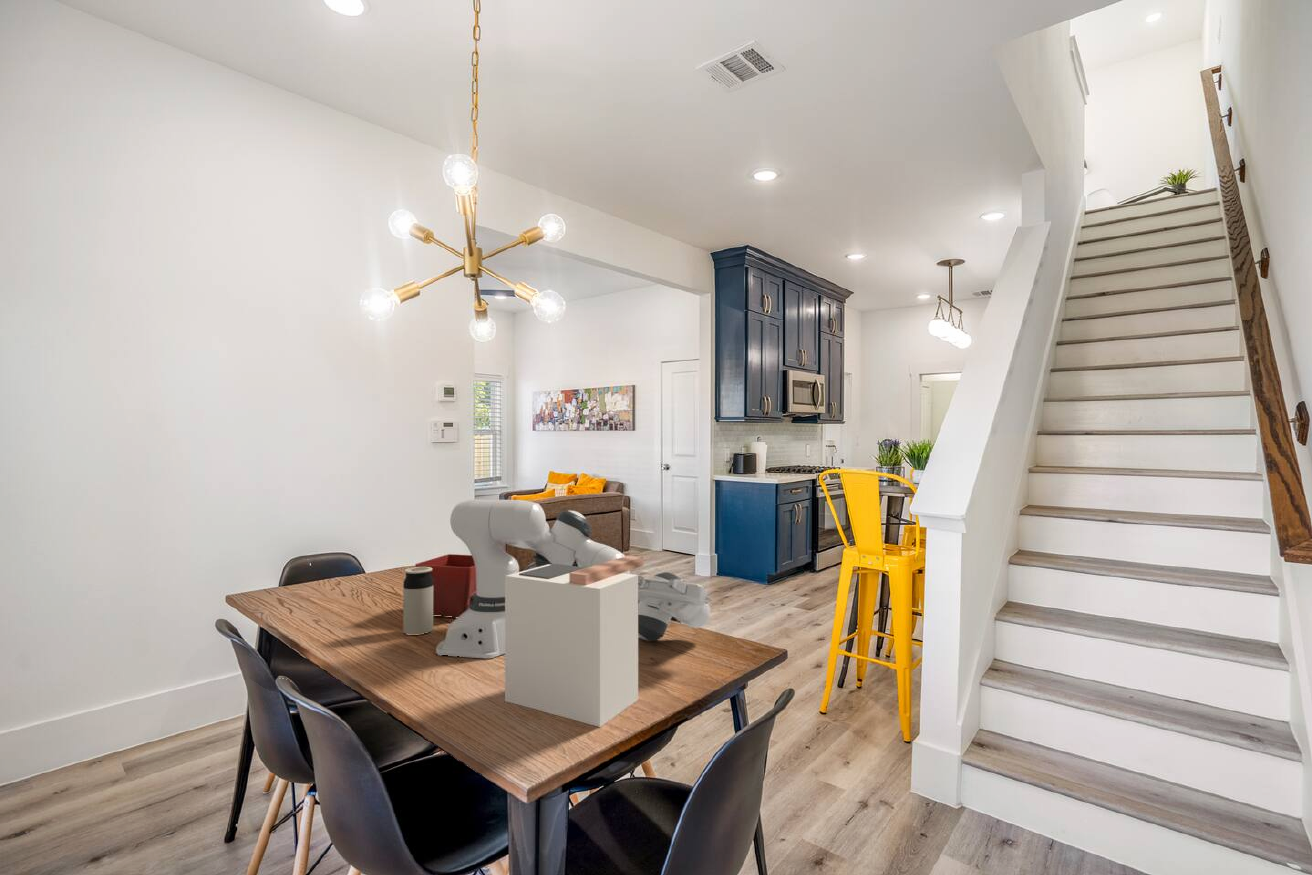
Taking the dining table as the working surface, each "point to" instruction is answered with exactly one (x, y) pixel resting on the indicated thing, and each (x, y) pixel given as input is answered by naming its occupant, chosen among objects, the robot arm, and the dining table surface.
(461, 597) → the plant pot
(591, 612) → the tall white box
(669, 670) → the dining table surface
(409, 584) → the travel mug
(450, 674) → the dining table surface
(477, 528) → the robot arm
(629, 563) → the terracotta slat
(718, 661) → the dining table surface
